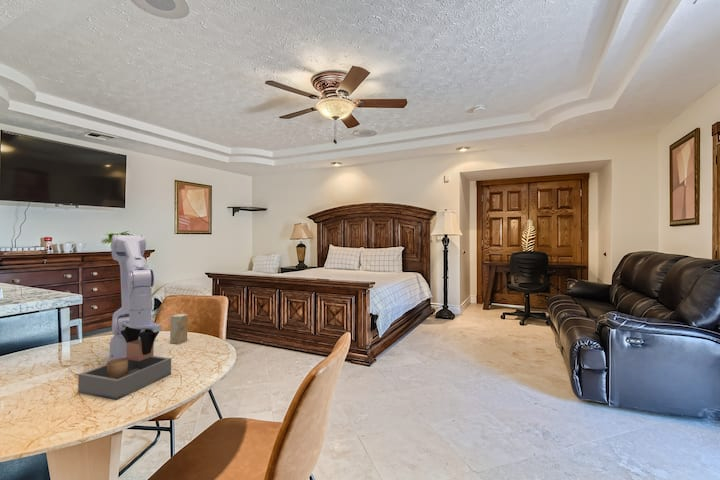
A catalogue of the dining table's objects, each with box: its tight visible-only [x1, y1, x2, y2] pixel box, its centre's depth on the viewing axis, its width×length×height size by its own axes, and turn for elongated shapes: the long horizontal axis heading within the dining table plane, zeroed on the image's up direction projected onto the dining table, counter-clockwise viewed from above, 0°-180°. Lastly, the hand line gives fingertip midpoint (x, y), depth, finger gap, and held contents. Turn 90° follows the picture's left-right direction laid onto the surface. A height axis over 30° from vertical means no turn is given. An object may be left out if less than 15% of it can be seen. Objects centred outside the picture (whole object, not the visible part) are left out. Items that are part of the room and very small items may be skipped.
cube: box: [127, 339, 155, 361], centre depth 106 cm, size 5×5×5 cm
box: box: [169, 313, 189, 345], centre depth 141 cm, size 5×4×11 cm
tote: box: [77, 355, 172, 401], centre depth 102 cm, size 14×18×5 cm
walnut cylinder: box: [106, 358, 128, 379], centre depth 99 cm, size 5×5×7 cm
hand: (140, 352), depth 106 cm, fingers closed on cube, 5 cm apart
